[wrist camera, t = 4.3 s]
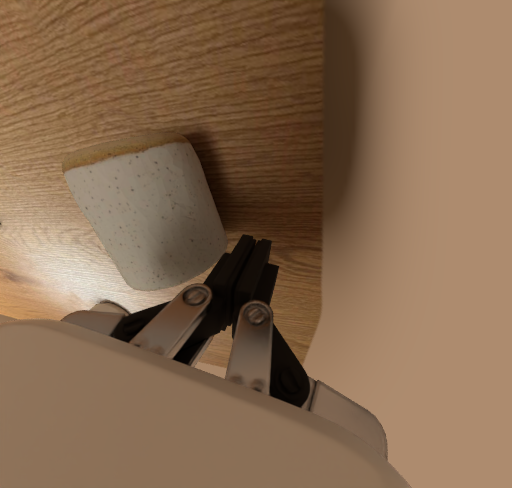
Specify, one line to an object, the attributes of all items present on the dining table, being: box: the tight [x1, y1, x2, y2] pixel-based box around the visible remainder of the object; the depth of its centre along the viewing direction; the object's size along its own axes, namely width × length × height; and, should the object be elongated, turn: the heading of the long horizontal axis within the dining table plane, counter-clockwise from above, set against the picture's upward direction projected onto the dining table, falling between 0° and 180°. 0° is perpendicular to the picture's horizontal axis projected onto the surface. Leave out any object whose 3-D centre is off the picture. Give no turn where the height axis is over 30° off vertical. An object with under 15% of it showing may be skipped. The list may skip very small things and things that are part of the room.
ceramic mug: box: [62, 132, 228, 291], centre depth 14 cm, size 11×8×8 cm
